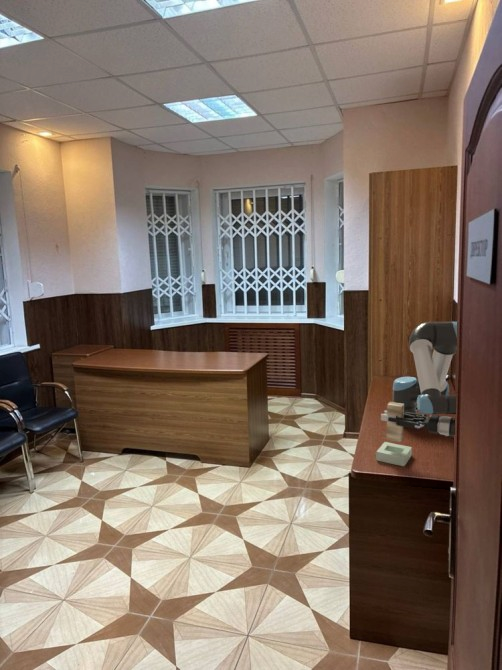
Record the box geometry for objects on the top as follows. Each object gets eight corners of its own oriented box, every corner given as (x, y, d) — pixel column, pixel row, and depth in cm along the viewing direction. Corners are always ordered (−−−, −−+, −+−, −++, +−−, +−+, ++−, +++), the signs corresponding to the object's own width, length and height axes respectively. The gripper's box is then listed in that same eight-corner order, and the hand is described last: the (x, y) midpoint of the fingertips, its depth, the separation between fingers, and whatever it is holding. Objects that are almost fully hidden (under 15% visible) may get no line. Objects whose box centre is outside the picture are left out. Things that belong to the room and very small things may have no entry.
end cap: (384, 450, 214) (384, 441, 213) (411, 455, 207) (411, 447, 207) (376, 460, 204) (376, 451, 203) (404, 466, 197) (404, 457, 197)
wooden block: (389, 436, 207) (390, 401, 204) (402, 439, 204) (404, 403, 201) (386, 439, 204) (387, 404, 201) (400, 442, 201) (401, 406, 198)
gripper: (434, 440, 186) (376, 429, 198) (443, 426, 200) (388, 417, 213) (435, 422, 185) (376, 413, 197) (443, 409, 199) (388, 401, 211)
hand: (382, 415), depth 205 cm, fingers closed on wooden block, 4 cm apart
